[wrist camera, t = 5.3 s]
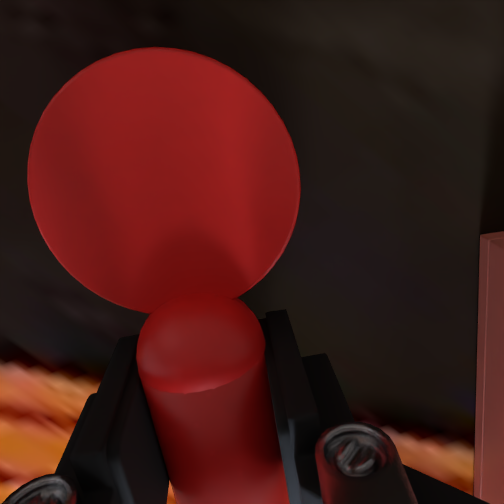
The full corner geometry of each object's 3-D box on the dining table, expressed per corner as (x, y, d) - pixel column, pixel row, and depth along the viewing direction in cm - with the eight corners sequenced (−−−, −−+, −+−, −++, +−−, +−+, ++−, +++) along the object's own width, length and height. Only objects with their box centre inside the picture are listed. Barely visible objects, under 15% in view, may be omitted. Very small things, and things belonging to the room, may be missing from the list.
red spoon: (338, 559, 14) (366, 665, 11) (180, 587, 14) (171, 702, 11) (273, 35, 9) (297, 7, 6) (18, 76, 9) (-70, 67, 6)
